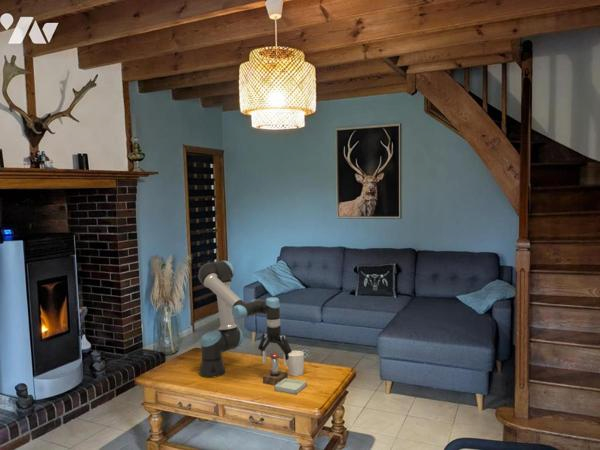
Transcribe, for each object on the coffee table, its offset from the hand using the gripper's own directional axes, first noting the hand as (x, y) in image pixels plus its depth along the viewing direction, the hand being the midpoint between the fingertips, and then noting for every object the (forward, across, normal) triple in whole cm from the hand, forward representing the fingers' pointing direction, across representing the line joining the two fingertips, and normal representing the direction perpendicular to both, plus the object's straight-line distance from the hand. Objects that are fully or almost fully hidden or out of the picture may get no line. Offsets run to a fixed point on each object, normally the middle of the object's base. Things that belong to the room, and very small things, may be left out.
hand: (275, 363), depth 255 cm
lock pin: (+10, 0, 0) cm, 10 cm away
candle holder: (+10, +5, +15) cm, 19 cm away
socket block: (+10, 0, 0) cm, 10 cm away
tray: (+10, +12, -5) cm, 17 cm away
